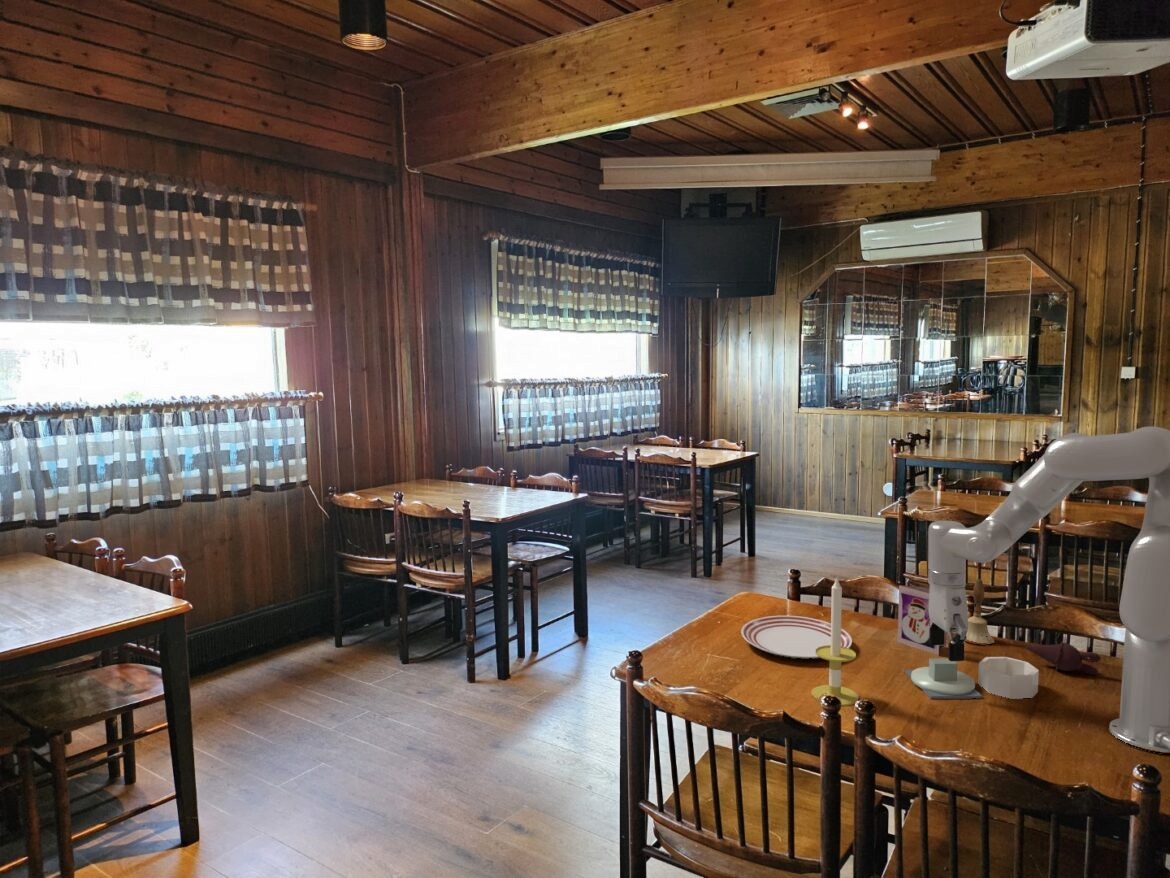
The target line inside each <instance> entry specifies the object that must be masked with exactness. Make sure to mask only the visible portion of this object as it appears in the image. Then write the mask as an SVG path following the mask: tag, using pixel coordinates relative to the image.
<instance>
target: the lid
mask: <svg viewBox="0 0 1170 878" xmlns="http://www.w3.org/2000/svg"><path fill="white" fill-rule="evenodd" d="M912 670H913V671H912V673H911V678H910V680H911V682H912V683H913V685H915V686H916V687H918V688H919V689H921V688H922V689H925V690H928V691H931V692H934V693H939V694H946V695H963V694H968V693H970V692H972V691H973V690H974V689H975V688H976V682H975V680H974V679H973V678H972V677H971V676H970V675H968V674H966V673H965V672H963V671H959V670H958V662H957V661H949V659H948V658H945V657H944V658H940V657H939V658H929V659H928V666H921V667H918V668H916V669H915V668H914V669H912ZM922 689H921V690H922ZM975 690H976V689H975Z"/></svg>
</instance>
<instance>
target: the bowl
mask: <svg viewBox="0 0 1170 878" xmlns="http://www.w3.org/2000/svg"><path fill="white" fill-rule="evenodd" d="M1039 671H1040V670H1039V669H1038V668H1037V667H1035V666H1034V665H1032V664H1031V663H1029V662H1028V661H1024V660H1020V659H1017V658H1013V657H1008V656H986V657H984V658H983V659H982V660H980V661H979V662H978V677H977V681H978V682H977V685H978V684H979V686H980V687H981V688H982V687H983V688H984V689H985V690H986V691H987V692H986V691H985V690H984V689H983V688H982V689H983V690H984V691H985V692H986V693H988V694H991V693H992V694H991V695H994V694H995V696H999V697H1001V696H1002V698H1005V697H1006V698H1005V699H1008V698H1009V700H1024V699H1023V698H1031V699H1033V698H1034V696H1036V694H1038V691H1039V675H1040V674H1039V673H1040V672H1039Z"/></svg>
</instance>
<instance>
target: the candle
mask: <svg viewBox="0 0 1170 878" xmlns="http://www.w3.org/2000/svg"><path fill="white" fill-rule="evenodd" d="M842 595H843V588H842V586H841V584H840V581H839V579H838V577H836V578H835V581H834V583H833V585H832V586H831V602H830V603H831V604H830V605H831V612H830V615H831V616H830V619H831V620H830V623H831V645H828V646H821V647H818V648H817V649H816V655H817V656H818V657H820V659H823V660H826V661H829V662H828V663H829V671H828V672H829V674H828V684H824V685H823V684H822V685H819V686H815V687H814V688H813V689H812V690H811V692H810V693H811V694H812V695H813V696H814V697H815V698H817V697H818V699H819V697H820V696H821V695H822V694H824V695H834V696H837V697H839V698H840V699H841V701H842V706H841V707H849V706H852V705H855V704H856V703H857V702H856V701H857V700H858V699H859V698H860V697H859V694H858V693H857V692H856V691H855V690H852V689H850V688H848V687H846V686H842V663H845V662H851V661H853V660H854V659H857V658H856V657H857V653H856V652H855V651H854V649H851V648H846V647H841V628H842V608H843V607H842V605H843V604H842V603H843V602H842V601H843V597H842ZM825 693H827V694H825ZM812 695H811V696H812ZM859 700H860V699H859ZM855 702H856V703H855ZM854 703H855V704H854Z"/></svg>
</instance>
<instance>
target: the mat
mask: <svg viewBox="0 0 1170 878" xmlns="http://www.w3.org/2000/svg"><path fill="white" fill-rule="evenodd" d="M913 670H914V669H905V671H904V672H905V674H906V673H907V674H908V675H907V674H906V675H907V676H908V677H909V678H910V679H911V673H912V671H913ZM920 689H921V691H922V692H923V693H924V694H926V696H927V697H928V698H929V699H930V700H950V699H951V700H953V699H954V700H957V699H959V700H961V699H962V700H963V699H965V700H966V699H969V700H970V699H972V698H976V699H983V695H982V694H981V692H979V691H977V690H976V689H974V690H973V691H972V692H970V693H968V694H963V695H946V694H939V693H934V692H931V691H928V690H925V689H922V688H920Z"/></svg>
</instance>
